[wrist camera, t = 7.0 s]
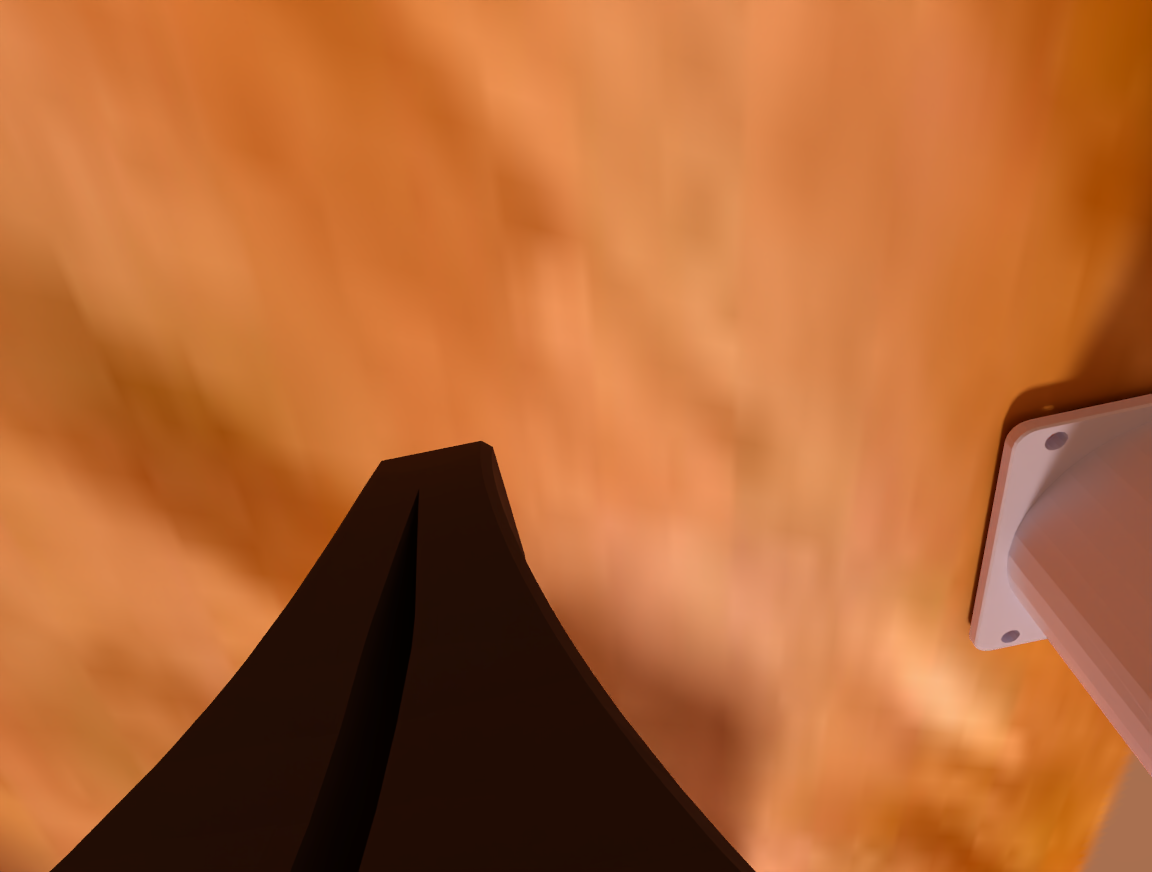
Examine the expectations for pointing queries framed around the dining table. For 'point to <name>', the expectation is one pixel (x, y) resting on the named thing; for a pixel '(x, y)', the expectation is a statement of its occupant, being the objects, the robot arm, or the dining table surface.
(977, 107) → the dining table surface
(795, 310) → the dining table surface
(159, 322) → the dining table surface
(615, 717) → the robot arm
